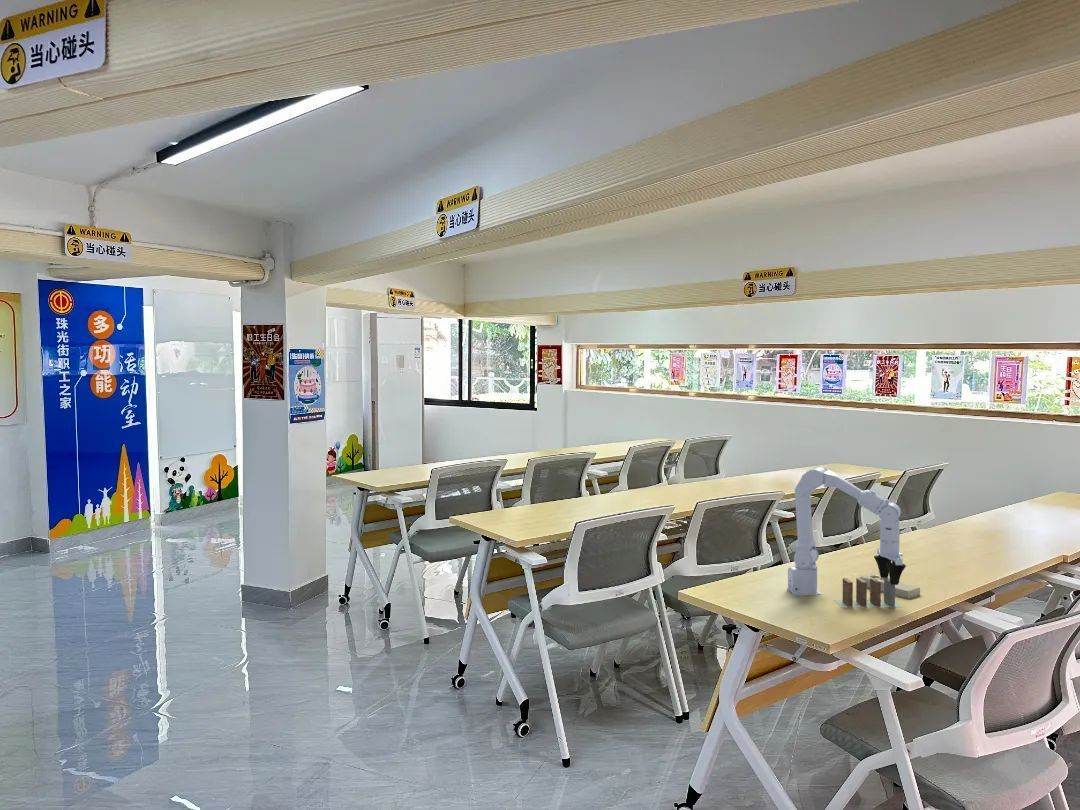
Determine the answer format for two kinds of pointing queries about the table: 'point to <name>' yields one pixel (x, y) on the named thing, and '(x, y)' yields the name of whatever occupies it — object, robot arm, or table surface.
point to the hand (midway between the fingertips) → (889, 581)
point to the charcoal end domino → (889, 593)
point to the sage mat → (869, 604)
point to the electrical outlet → (900, 589)
